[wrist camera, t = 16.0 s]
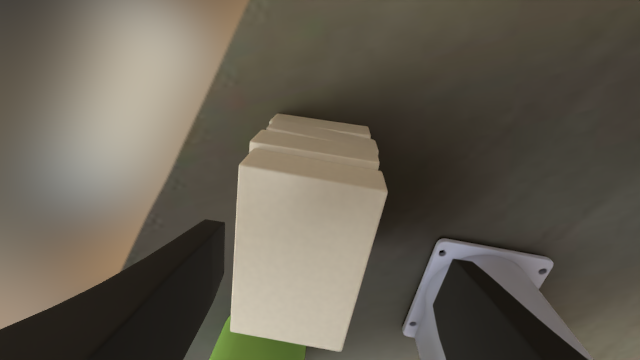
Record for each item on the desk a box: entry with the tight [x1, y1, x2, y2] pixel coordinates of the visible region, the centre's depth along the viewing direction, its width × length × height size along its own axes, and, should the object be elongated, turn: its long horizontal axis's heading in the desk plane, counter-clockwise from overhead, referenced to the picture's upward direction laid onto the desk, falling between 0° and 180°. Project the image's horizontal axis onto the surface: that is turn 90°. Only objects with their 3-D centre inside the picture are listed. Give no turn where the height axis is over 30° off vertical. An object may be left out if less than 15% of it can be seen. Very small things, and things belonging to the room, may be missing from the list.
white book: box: [230, 148, 388, 352], centre depth 14 cm, size 9×6×2 cm, turn 171°
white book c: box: [249, 130, 380, 171], centre depth 15 cm, size 9×6×2 cm, turn 172°
